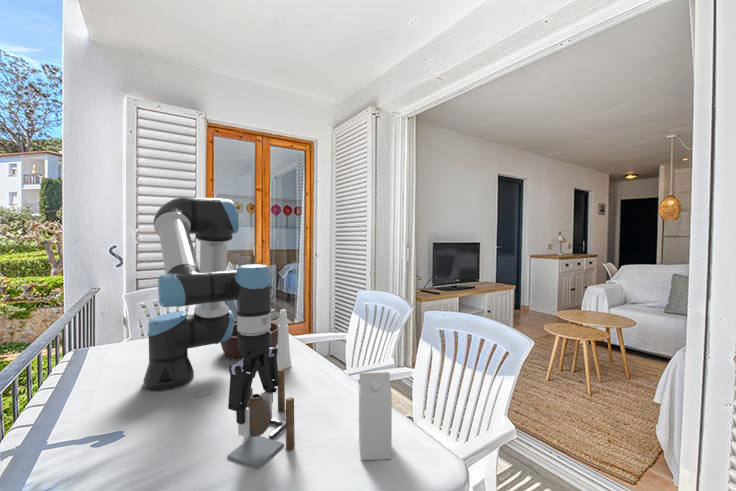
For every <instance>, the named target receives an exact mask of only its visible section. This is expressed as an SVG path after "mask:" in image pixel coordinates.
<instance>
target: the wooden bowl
mask: <svg viewBox="0 0 736 491" xmlns="http://www.w3.org/2000/svg"><path fill="white" fill-rule="evenodd" d="M278 325H279V323H277V322H273V321H271V328H270V329H269V330H270V331H271V346H270V347H272V348H278ZM238 333H239V332H238V331H237V323H234V327H233V332H232V335H231V337H230V339H229V340H228V341H225V342H221V343H220V345H221V346H220V347H221V349H222V351H223V353H224V354H225V356H226V357H227V358H229V359H232V360H238V361H239V358H240V351H239V349H238V342H237V335H238Z"/></svg>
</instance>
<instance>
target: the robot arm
mask: <svg viewBox="0 0 736 491" xmlns="http://www.w3.org/2000/svg"><path fill="white" fill-rule="evenodd" d="M235 204H236V203H234V202H233V201H232V200H231V199H226V198H224V199H223V198H220V197H219V198H217V197H216V198H215V197H189V196H183V197H177V198H174V199H171V200H169V201H167V202H166V203H164V204H163V205H162V206H161V207H159V209H158V210H157V212H156V213H155V216H154V218H153V230H154V231H155V234H157V236H158V237H159V241H160V246H161V254H162V260H163V266H164V273H165V274H162V275H160V276H159V277H158V279H157V295H158V303H159V305H160V306H161V307H163V308H169V307H170V308H172V307H173V308H174V307H176V308H181V307H186V306H194V305H197V306H195V308H194V309H193V314H188V313H187V312H186V311H183V310H181V311H171V312H168V313H163V314H161V315H157V316H155V317H154V318H152V319H151V320H150V321H149V322H148V326H147V330H148V331H147V336H148V365H147V368H146V372H145V375H144V377H143V388H144V389H145V390H147V391H151V392H153V391H155V392H157V391H159V392H160V391H169V390H173V389H176V388H179V387H183V386H184V385H186V384H187V385H188V384H189V383H190V382H191V381H192V380H193V379H194V377H195V375H194V374H195V373H194V368H193V365H192V363H191V360H190V358H189V356H188V354H189V353H188V352H189V351H188V350H189V349H193V348H199V347H204V346H205V347H206V346H210V345H218V344H221V342H225V341H228V340H229V339H230V337H231V335H232V332H233V327H234V324H235V322H234V313H233V311H232V310H230V308H229V306H228V305H227V304H226V302H228V301H236V313H237V314H236V321H237V322H236V324H237V331H238V332H239V333H238V335H237V342H238V349H239V351H240V358H239V360H238V362H236V363H235V364H230V365H229V366H228V371H229V378H230V379H229V390H228V391H229V392H228V406H227V408H228V410H231V411H233V412H236V413H235V414H236V415H235V417H236V423H237V424H238V426H237V428H238V429H237V430H238V434H237V435H238V436H241V437H244V438H247V439H249V438H250V437H249V436H250V409H249V408H248V407H247V403H248V398H249V394H250V389H251V388H252V384H253V380H254V379H255V377H256V374H258V376H259V377H258V378H259V380H260V383H261V386H262V389H263V391H261V392H260V395H261V396H262V398H263V399H264V400H265V401H266V402H267V404H268V405H269V407H270V411H271V420H272V418H273V403H274V399H273V398H274V394H276V393H277V392H278V385H279V378H278V367H277V351H278V347H276V348H272V347H270V346H271V331H270V330H269V329H270V328H271V322H272V320H271V318H272V316H271V315H272V314H271V312H272V311H271V308H272V307H271V306H272V303H271V302H272V300H271V299H272V295H271V289H272V288H271V287H272V286H271V284H272V277H271V269H270V267H269V266H268V265H266V264H243V265H239V266H237V268H233V269H230V270H227V265H228V264H227V262H228V260H227V259H228V244H229V243H230V242H231V241H233V235H234V234H238V232H239V229H240V220H239V215H238V210H237V207H236V205H235ZM191 234H195V236H194V237H195V239H196V240H197V241H198V242H199V246H200V247H199V248H200V250H199V253H200V254H199V262H198V259H197V256H196V252H195V251H196V250H195V248H194V245H193V241H192V238H191ZM276 387H277V388H276ZM273 393H274V394H273Z"/></svg>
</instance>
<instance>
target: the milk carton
mask: <svg viewBox="0 0 736 491" xmlns="http://www.w3.org/2000/svg"><path fill="white" fill-rule="evenodd" d="M390 379H391V376H390V371H381V372H380V371H378V372H360V373H359V379H358V380H359V381H358V445H359V455H360V456H359V457H360V461H373V460H374V461H377V460H392V444H393V443H392V442H393V440H392V439H393V438H392V437H393V435H392V434H393V431H392V423H393V422H392V420H393V419H392V418H393V417H392V416H393V414H392V410H393V408H392V407H393V406H392V405H393V404H392V402H393V401H392V399H393V397H392V396H393V395H392V394H393V393H392V386H391V380H390Z"/></svg>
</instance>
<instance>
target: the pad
mask: <svg viewBox="0 0 736 491" xmlns="http://www.w3.org/2000/svg"><path fill="white" fill-rule="evenodd" d="M283 447H284V443H283V442H281V441H277V440H274V439H273V440H272V439H269V437H265V436H262V435H260V436H257V437H249V438H247V440H246V441H244V442H243V443H242V444H240V445H239V446H238V447H236V448H235V449H234V450H233V451H231V452H230V453H229V454H227V456H226V457H227V459H229V460H232V461H234V462H237V463H239V464H243V465H245V466H248V467H250V468H253V469H256V470H259V469H260V468H261V467H262V466H263V465H264V464H265V463H266V462H267V461H268V460H270V459H271V458H272V456H274V455H275V454H277V452H279V451H280V450H281V449H282V448H283Z"/></svg>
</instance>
